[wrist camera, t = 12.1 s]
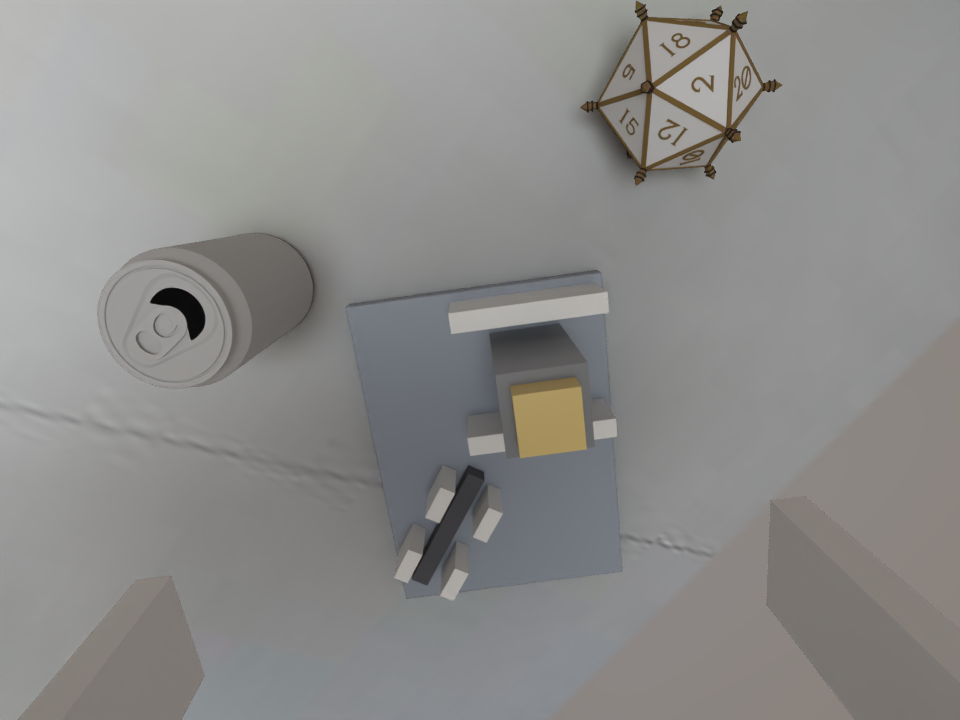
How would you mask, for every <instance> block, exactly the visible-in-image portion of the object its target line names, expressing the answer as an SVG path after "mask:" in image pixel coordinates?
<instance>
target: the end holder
mask: <svg viewBox="0 0 960 720" xmlns="http://www.w3.org/2000/svg"><path fill="white" fill-rule="evenodd" d="M604 313H609V305H608V292H607V291H606V290H604V289H603V288H601V287H600V286H598V285H597V284H595V283H587V284H580V285H573V286H565V287H558V288H551V289H543V290H536V291H529V292H521V293H514V294H507V295H499V296H492V297H485V298H478V299H470V300H463V301H456V302H450V306H449V311H448V316H449V323H450V329H451V334H456V333H464V332H471V331H478V330H486V329H493V328H501V327H508V326H515V325H523V324H530V323H537V322H545V321H552V320H559V319H567V318H574V317H582V316H589V315H596V314H604ZM591 407H592V419H593V430H594V440H596V439H604V438H612V437H617V423H616V418H615V416H614V415H613V413H612V412H611V410H610V409H609V407H608V406H607V404H606V403H605V401H604V400H603V398H598V399H591ZM467 439H468V446H469V452H470V456H474V455H482V454H490V453H497V452H505V445H504V438H503V431H502V424H501V417H500V412H493V413H485V414H478V415H470V416H468V417H467Z"/></svg>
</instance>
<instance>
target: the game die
mask: <svg viewBox="0 0 960 720" xmlns="http://www.w3.org/2000/svg"><path fill="white" fill-rule="evenodd" d="M645 6H646V4H645V5H643V4H642V3H640V2H638V1H636V10H635V13H637V15H638V16H637V17H639V18H640V19H641V23H640V25H639V27H638V28H637V30H636V32H635V34H634V36H633V38H632V40H631V41H630V43H629V45H628V47H627V49H626V51H625V53H624V54H623V56H622V58H621V60H620V62H619V64H618V66H617V67H616V69H615V71H614V73H613V75H612V77H611V78H610V80H609V82H608V84H607V86H606V88H605V90H604V91H603V93H602V95H601V97H600V99H599V101H598V102H593V101H591V102H588V101H587V103H585V104H584V105H583V106H581V107H580V108H582V109H583V110H585V111H587V113H588V112H589V111H592V112H593V110H596V109H598V110H599V112H600V113H601V115H602V116H603V117H604V119H605V120H606V122H607V123H608V124H609V126H610V127H611V129H612V130H613V131H614V133H615V134H616V135H617V137H618V138H619V140H620V141H621V142H622V144H623V145H624V147H625V148H626V149H627V156H628V158H632V159H634V161H635V162H636V163H637V165H638V166H639V168H640V170H639V172H638V171H637V174H636V176H635V178H634V179H635V184H636V185H638V184H639V183H641V182H643V181H645V180H644V178H645V177H646V171H652V170H666V169H679V168H693V167H705V171H704V173H706V176H708V177H710V178H712V179H714V176H715V173H716V171H715V169H714V167H713V166H711V163H712V161H713V160H714V159H715V157H716V156H717V154H718V153H719V152H720V150H721V149H722V147H723V146H724V144H725V143H726V142H727V140H729V141H731V142H732V143H733V142H736V141H741V138H740V133H741V131H737V129H736V128H737V126H738V125H739V123H740V122H741V121H742V119H743V118H744V116H745V115H746V114H747V112H748V111H749V109H750V108H751V107H752V105H753V104H754V102H755V101H756V100H757V98H758V97H759V95H760V94H761V92H762V91H767V92H770V91H773V92H775V90H776V89H778V88H779V87H781V86H782V84H780V83H778V82H777V81H776V80H775V79H774V81H770V80H769V81H768V82H767V83H763V82H762V80H761V78H760V76H759V74H758V72H757V70H756V68H755V66H754V64H753V62H752V60H751V58H750V57H749V55H748V53H747V51H746V49H745V47H744V45H743V43H742V41H741V39H740V37H739V35H738V33H737V30H738V29H742V28H743V27H742V26H743V25H744V24H746V23H747V22H746V18H747V13H748V11H747V12H744V13H742V14H738V15H737V16H736V17H735V19H734V20H733V21H732V25H731V26H729V25H726V24H723V23H720V22H717V21H719V19H720V17H721V16H722V13H723V11H722V8H721V6H719V7H718V8H716V9H714V10H712V14H711V15H710V17H711V19H710V20H702V19H679V18H656V17H648V16H647V11H648V10H646V8H645Z"/></svg>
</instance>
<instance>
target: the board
mask: <svg viewBox="0 0 960 720" xmlns="http://www.w3.org/2000/svg"><path fill="white" fill-rule="evenodd" d="M587 283H595V284H597V285H598V286H600V287H601V288H602V276H601V272H599V271H597V270H595V271H587V272H580V273H573V274H566V275H558V276H551V277H544V278H537V279H529V280H522V281H515V282H507V283H500V284H493V285H486V286H478V287H471V288H464V289H456V290H449V291H442V292H435V293H427V294H420V295H413V296H405V297H398V298H391V299H384V300H376V301H369V302H362V303H355V304H349V305H348V306H347V307H346V312H347V317H348V321H349V326H350V331H351V336H352V341H353V345H354V350H355V355H356V360H357V364H358V369H359V374H360V379H361V384H362V388H363V393H364V398H365V403H366V407H367V412H368V417H369V422H370V427H371V431H372V436H373V441H374V446H375V451H376V455H377V460H378V465H379V470H380V474H381V479H382V484H383V489H384V494H385V498H386V503H387V508H388V513H389V518H390V522H391V527H392V532H393V537H394V541H395V546H396V551H397V556H398V559H397V564H396V569H395V574H394V578H395V579H398V580H401V581H403V585H404V589H405V594H406V599H408V598H416V597H424V596H432V595H440V596H441V597H444V598H446V599H449V600H452V601H454V599H455V597H456V596H457V594H458V592H464V591H471V590H479V589H487V588H495V587H503V586H511V585H519V584H527V583H535V582H543V581H551V580H559V579H567V578H575V577H583V576H591V575H599V574H607V573H615V572H622V561H621V546H620V532H619V518H618V504H617V490H616V475H615V461H614V447H613V437H612V438H604V439H596V440H594V442H595V447H591V448H587V449H586V450H578V451H571V452H563V453H556V454H548V455H541V456H533V457H526V458H520V457H516V458H509V459H506V452H497V453H490V454H482V455H474V456H470V452H469V446H468V439H467V417H468V416H470V415H478V414H485V413H493V412H500V410H499V403H498V395H497V388H496V381H495V374H494V366H493V359H492V352H491V344H490V337H489V333H492V332H500V331H507V330H514V329H521V328H528V327H536V326H543V325H550V324H557V323H560V325H561V326H562V328H563V329H564V330H565V332H566V333H567V334H568V336H569V337H570V339H571V340H572V341H573V343H574V344H575V345H576V347H577V348H578V350H579V351H580V352H581V354H582V355H583V357H584V358H585V359H586V361H587V362H588V371H589V383H590V395H591V399H598V398H603V400H604V401H605V403H606V404H607V406H608V407H609V409H610V410H611V404H610V390H609V376H608V362H607V347H606V333H605V319H604V314H596V315H589V316H582V317H574V318H567V319H559V320H552V321H545V322H537V323H530V324H523V325H515V326H508V327H501V328H493V329H486V330H478V331H471V332H464V333H456V334H451V329H450V323H449V316H448V311H449V306H450V302H456V301H463V300H470V299H478V298H485V297H492V296H499V295H507V294H514V293H521V292H529V291H536V290H543V289H551V288H558V287H565V286H573V285H580V284H587ZM468 465H469V466H472V467H474V468H476V469H479V470H481V471H483V472H484V478H485V481H484V483H483V484H482V486H481V488H480V490H479V492H478V494H477V496H476V497H475V499H474V501H473V503H472V505H471V507H470V508H469V510H468V512H467V514H466V516H465V518H464V519H463V521H462V523H461V525H460V527H459V529H458V530H457V532H456V534H455V536H454V538H453V540H452V541H451V543H450V545H449V547H448V549H447V551H446V552H445V554H444V556H443V558H442V560H441V562H440V563H439V565H438V567H437V569H436V571H435V573H434V574H433V576H432V578H431V580H430V582H429V584H428V585H424V584H421V583H419V582H416V581H414V580H412V575H413V572H414V570H415V568H416V566H417V564H418V563H419V561H420V559H421V557H422V554H423V550H424V548H425V546H426V544H427V542H428V540H429V538H430V536H431V535H432V533H433V531H434V529H435V527H436V525H437V523H440V521H441V519H442V517H443V515H444V513H445V512H446V510H447V508H448V506H449V504H450V502H451V500H452V498H453V497H454V495H455V489H456V487H457V486H458V484H459V482H460V480H461V478H462V476H463V474H464V472H465V471H466V469H467V467H468Z"/></svg>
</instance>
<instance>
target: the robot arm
mask: <svg viewBox="0 0 960 720" xmlns="http://www.w3.org/2000/svg"><path fill="white" fill-rule="evenodd" d="M769 526H770V527H769V550H768V576H767V602H766V603H767V606H768V607H769V609H770V610H771V611H772V612H773V614H774V615H775V616H776V618H777V619H778V620H779V622H780V623H781V624H782V626H783V627H784V628H785V629H786V631H787V632H788V634H789V635H790V636H791V638H792V639H793V640H794V641H795V643H796V644H797V645H798V647H799V648H800V649H801V651H802V652H803V653H804V655H805V656H806V657H807V659H808V660H809V661H810V662H811V664H812V665H813V666H814V668H815V669H816V670H817V672H818V673H819V674H820V676H821V677H822V678H823V680H824V681H825V682H826V683H827V685H828V686H829V687H830V689H831V690H832V691H833V693H834V694H835V695H836V696H837V698H838V699H839V701H840V702H841V703H842V704H843V706H844V707H845V708H846V710H847V711H848V712H849V714H850V715H851V716H852V717H853V719H854V720H960V627H958V626H957V625H956V624H955V623H954V622H953V621H951V620H950V619H949V618H948V617H947V616H946V615H944V614H943V613H942V612H941V611H940V610H939V609H937V608H936V607H935V606H934V605H933V604H931V603H930V602H929V601H928V600H927V599H926V598H924V597H923V596H922V595H921V594H920V593H918V592H917V591H916V590H915V589H914V588H913V587H911V586H910V585H909V584H908V583H907V582H906V581H904V580H903V579H902V578H901V577H900V576H899V575H897V574H896V573H895V572H894V571H893V570H892V569H890V568H889V567H888V566H887V565H886V564H885V563H883V562H882V561H881V560H880V559H879V558H877V557H876V556H875V555H874V554H873V553H872V552H870V551H869V550H868V549H867V548H866V547H865V546H863V545H862V544H861V543H860V542H859V541H858V540H856V539H855V538H854V537H853V536H852V535H850V534H849V533H848V532H847V531H846V530H844V529H843V528H842V527H841V526H840V525H839V524H838V523H836V522H835V521H834V520H833V519H832V518H831V517H829V516H828V515H827V514H826V513H825V512H824V511H822V510H821V509H820V508H819V507H818V506H816V505H815V504H814V503H813V502H812V501H811V500H809V499H808V498H807V497H806V496H801V497H793V498H785V499H777V500H770V525H769ZM204 676H205V675H204V672H203V669H202V666H201V663H200V660H199V657H198V654H197V651H196V648H195V645H194V642H193V639H192V636H191V633H190V630H189V627H188V625H187V622H186V619H185V616H184V613H183V610H182V607H181V604H180V601H179V598H178V595H177V592H176V589H175V586H174V583H173V580H172V577H171V576H168V577H160V578H152V579H144V580H136V581H135V582H134V584H133V585H132V586H131V587H130V588H129V590H128V591H127V592H126V593H125V594H124V595H123V597H122V598H121V599H120V600H119V601H118V603H117V604H116V605H115V606H114V607H113V608H112V610H111V611H110V612H109V613H108V614H107V615H106V617H105V618H104V619H103V620H102V621H101V623H100V624H99V625H98V626H97V627H96V628H95V630H94V631H93V632H92V633H91V634H90V636H89V637H88V638H87V639H86V640H85V641H84V643H83V644H82V645H81V646H80V647H79V649H78V650H77V651H76V652H75V653H74V654H73V656H72V657H71V658H70V659H69V660H68V661H67V663H66V664H65V665H64V666H63V667H62V669H61V670H60V671H59V672H58V673H57V674H56V676H55V677H54V678H53V679H52V680H51V682H50V683H49V684H48V685H47V686H46V687H45V689H44V690H43V691H42V692H41V693H40V694H39V696H38V697H37V698H36V699H35V700H34V702H33V703H32V704H31V705H30V706H29V707H28V709H27V710H26V711H25V712H24V713H23V715H22V716H21V717H20V718H19V719H18V720H181V719H182V717H183V716H184V714H185V712H186V710H187V708H188V706H189V704H190V702H191V701H192V699H193V697H194V695H195V693H196V691H197V689H198V687H199V686H200V684H201V682H202V680H203V678H204Z"/></svg>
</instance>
